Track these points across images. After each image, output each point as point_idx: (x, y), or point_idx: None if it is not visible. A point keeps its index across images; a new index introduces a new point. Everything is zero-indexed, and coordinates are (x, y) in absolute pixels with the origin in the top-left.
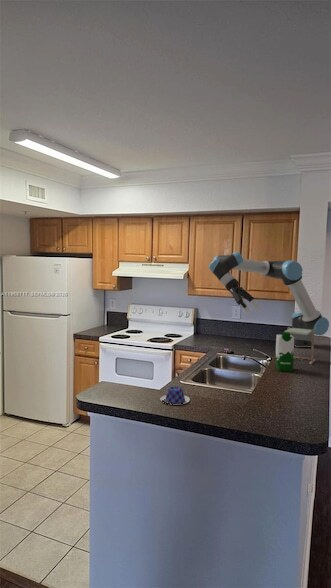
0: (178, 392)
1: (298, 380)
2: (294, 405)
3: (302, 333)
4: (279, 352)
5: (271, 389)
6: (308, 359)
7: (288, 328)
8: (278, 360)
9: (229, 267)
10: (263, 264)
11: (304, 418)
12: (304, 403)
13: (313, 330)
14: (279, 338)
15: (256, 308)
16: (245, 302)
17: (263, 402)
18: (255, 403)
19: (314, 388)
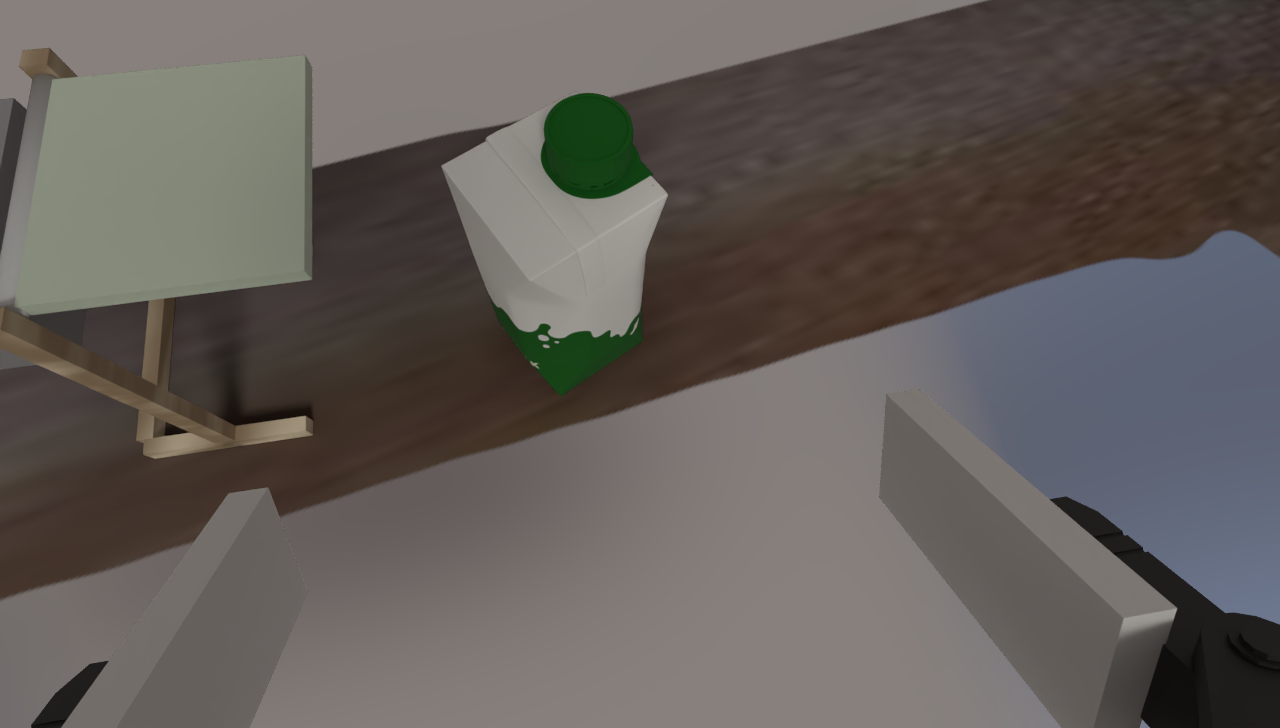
0: None
1: (747, 178)
2: (1108, 70)
3: (307, 95)
4: (643, 277)
5: (1016, 219)
6: (171, 301)
7: (18, 324)
8: (639, 315)
9: None
10: None
11: (1190, 5)
12: (1049, 50)
13: (57, 60)
14: (664, 202)
15: (275, 607)
16: (1072, 566)
17: (1205, 170)
18: (1250, 190)
19: (815, 81)
